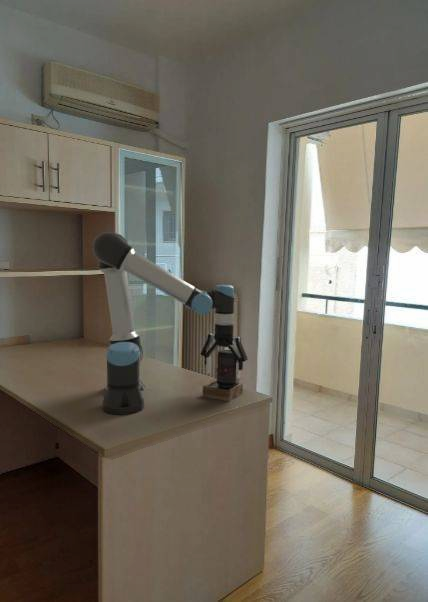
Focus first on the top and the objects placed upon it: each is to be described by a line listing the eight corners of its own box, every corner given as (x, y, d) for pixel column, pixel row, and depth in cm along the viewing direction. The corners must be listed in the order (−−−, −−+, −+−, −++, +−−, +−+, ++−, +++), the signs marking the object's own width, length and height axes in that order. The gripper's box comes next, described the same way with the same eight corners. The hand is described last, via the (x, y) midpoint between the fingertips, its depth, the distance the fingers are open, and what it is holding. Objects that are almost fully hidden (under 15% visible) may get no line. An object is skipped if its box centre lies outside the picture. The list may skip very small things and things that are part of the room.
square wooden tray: (229, 401, 173) (229, 391, 173) (202, 396, 179) (202, 386, 178) (242, 393, 184) (242, 383, 183) (216, 388, 189) (217, 379, 189)
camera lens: (235, 391, 175) (236, 354, 174) (214, 389, 177) (215, 352, 175) (237, 385, 183) (239, 350, 182) (218, 384, 185) (219, 348, 183)
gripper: (256, 325, 175) (255, 377, 178) (202, 319, 187) (201, 368, 189) (248, 327, 169) (247, 382, 171) (192, 321, 181) (192, 372, 183)
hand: (223, 375), depth 180 cm, fingers open, 13 cm apart
